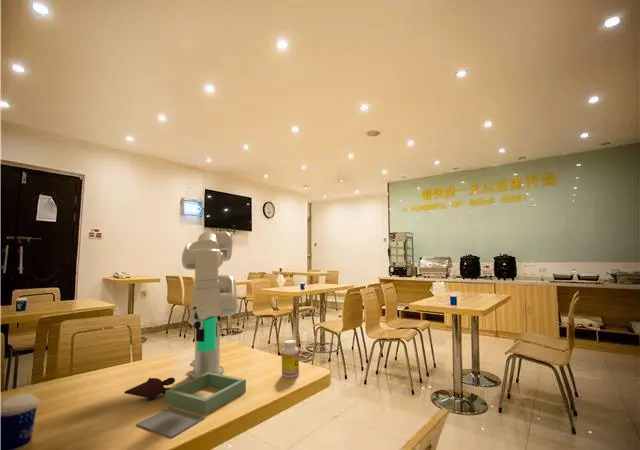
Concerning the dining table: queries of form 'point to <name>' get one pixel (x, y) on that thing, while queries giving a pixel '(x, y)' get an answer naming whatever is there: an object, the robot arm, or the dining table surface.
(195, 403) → the box
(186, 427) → the rubber mat
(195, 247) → the robot arm
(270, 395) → the dining table surface
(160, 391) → the icecream
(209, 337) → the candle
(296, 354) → the supplement bottle
